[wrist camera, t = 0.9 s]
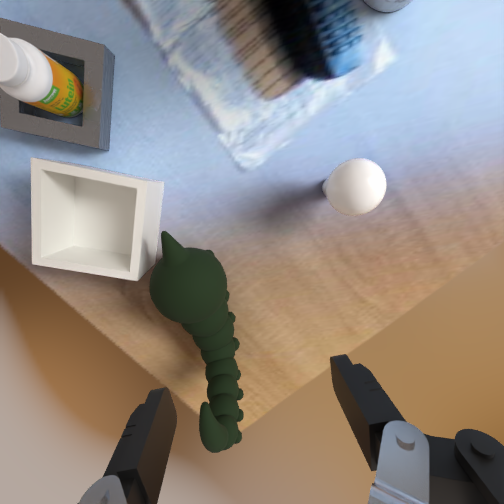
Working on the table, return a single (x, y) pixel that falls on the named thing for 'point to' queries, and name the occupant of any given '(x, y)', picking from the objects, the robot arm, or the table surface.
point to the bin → (94, 219)
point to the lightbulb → (355, 187)
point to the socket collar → (95, 88)
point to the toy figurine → (203, 332)
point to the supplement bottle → (38, 79)
